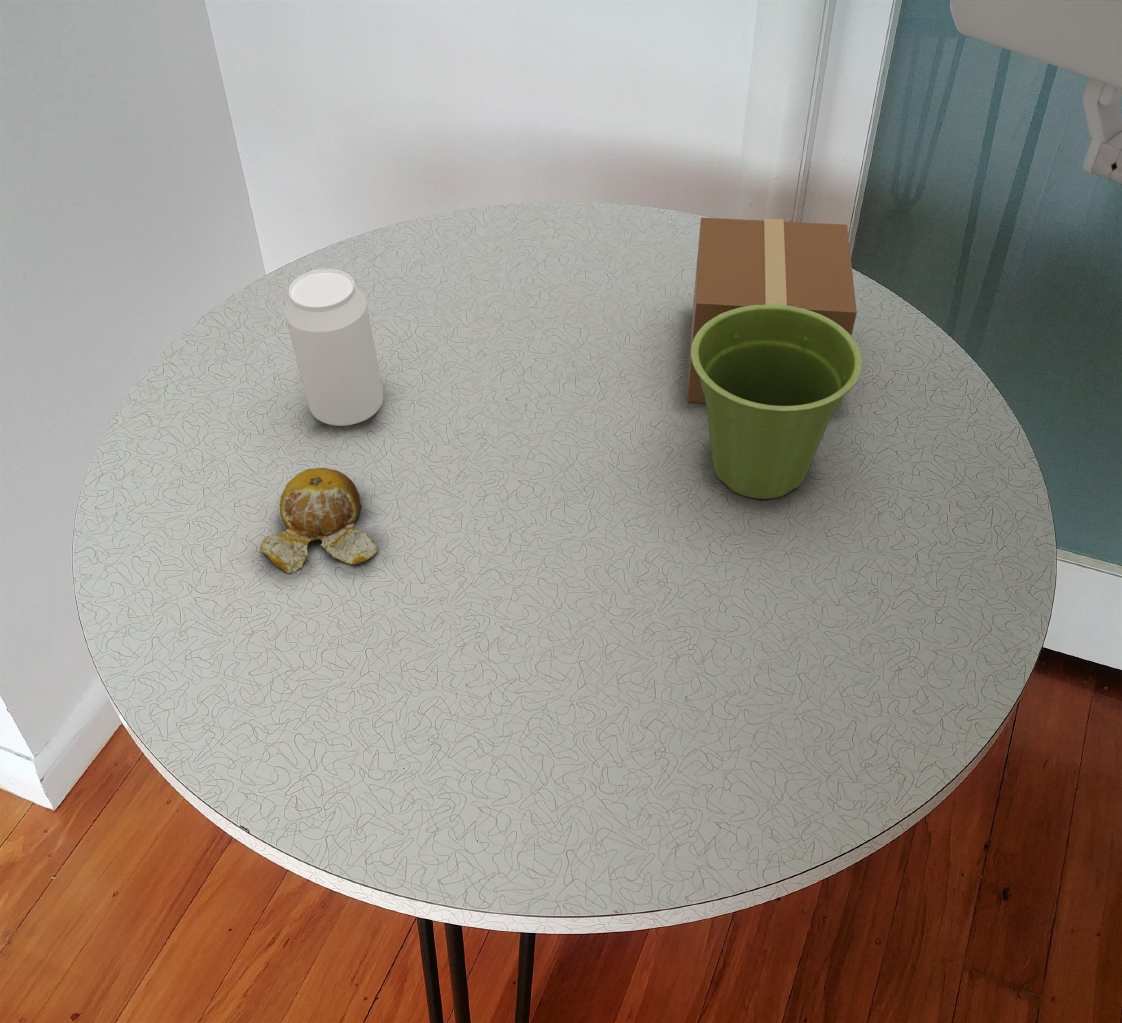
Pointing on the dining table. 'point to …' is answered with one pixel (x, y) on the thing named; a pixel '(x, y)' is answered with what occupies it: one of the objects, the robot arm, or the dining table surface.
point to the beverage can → (334, 347)
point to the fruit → (319, 520)
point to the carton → (770, 272)
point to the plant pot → (771, 392)
